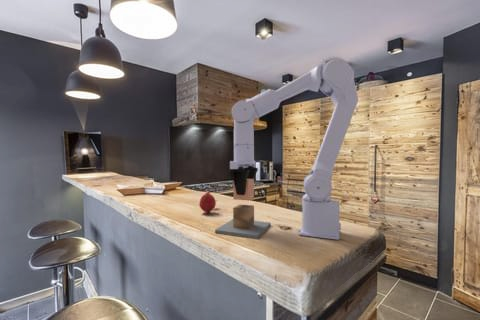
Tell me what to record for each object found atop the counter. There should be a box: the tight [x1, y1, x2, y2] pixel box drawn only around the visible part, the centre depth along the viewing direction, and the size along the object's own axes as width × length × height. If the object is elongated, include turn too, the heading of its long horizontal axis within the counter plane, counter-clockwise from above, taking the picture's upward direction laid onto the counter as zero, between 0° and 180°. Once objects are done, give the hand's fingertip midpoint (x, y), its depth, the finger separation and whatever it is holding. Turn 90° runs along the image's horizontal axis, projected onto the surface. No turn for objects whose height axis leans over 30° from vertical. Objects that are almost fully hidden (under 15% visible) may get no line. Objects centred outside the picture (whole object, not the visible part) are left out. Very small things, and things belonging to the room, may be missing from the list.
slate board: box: [214, 218, 272, 240], centre depth 63 cm, size 12×12×1 cm
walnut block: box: [232, 204, 255, 229], centre depth 63 cm, size 4×4×6 cm
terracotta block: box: [232, 178, 255, 201], centre depth 64 cm, size 4×4×6 cm
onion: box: [199, 190, 217, 214], centre depth 82 cm, size 6×6×8 cm
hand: (244, 193), depth 64 cm, fingers closed on terracotta block, 4 cm apart
